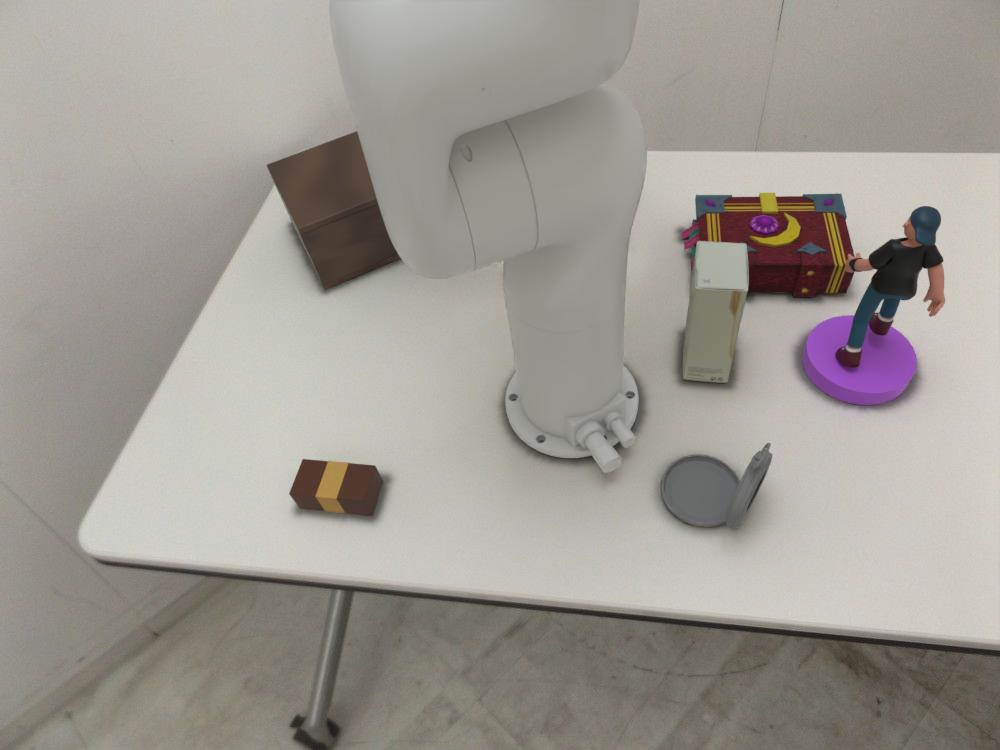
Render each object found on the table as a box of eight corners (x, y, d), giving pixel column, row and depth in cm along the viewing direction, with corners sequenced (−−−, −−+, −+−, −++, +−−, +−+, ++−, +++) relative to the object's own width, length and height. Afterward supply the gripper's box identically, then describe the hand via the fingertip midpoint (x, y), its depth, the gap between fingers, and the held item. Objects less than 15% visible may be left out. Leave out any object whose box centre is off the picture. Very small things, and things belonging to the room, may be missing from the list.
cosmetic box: (728, 385, 65) (749, 293, 56) (681, 381, 66) (694, 290, 56) (728, 334, 69) (748, 240, 59) (684, 331, 70) (696, 238, 60)
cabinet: (397, 183, 91) (379, 122, 84) (438, 242, 83) (422, 179, 76) (293, 224, 88) (266, 164, 81) (324, 290, 80) (297, 229, 73)
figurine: (899, 330, 67) (978, 173, 53) (919, 408, 61) (1013, 256, 47) (797, 326, 68) (847, 173, 54) (807, 401, 63) (866, 253, 49)
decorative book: (847, 299, 70) (861, 262, 66) (683, 296, 73) (688, 261, 69) (830, 225, 77) (842, 188, 73) (681, 226, 80) (685, 190, 76)
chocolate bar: (312, 474, 64) (302, 458, 62) (383, 480, 63) (375, 464, 61) (299, 509, 62) (288, 494, 60) (372, 516, 61) (363, 501, 59)
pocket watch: (656, 461, 61) (664, 394, 53) (754, 458, 60) (777, 389, 52) (667, 548, 56) (678, 488, 48) (774, 546, 55) (803, 485, 47)
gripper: (477, 7, 65) (499, 170, 79) (417, -43, 74) (447, 112, 88) (404, 33, 64) (440, 194, 78) (353, -21, 72) (394, 133, 87)
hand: (444, 150), depth 83 cm, fingers closed
